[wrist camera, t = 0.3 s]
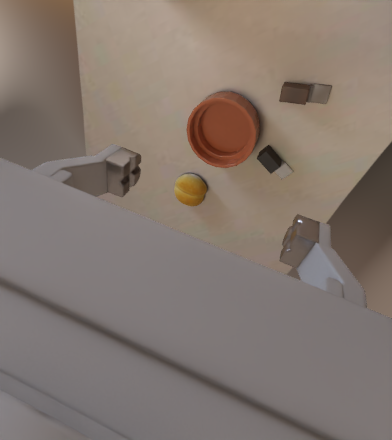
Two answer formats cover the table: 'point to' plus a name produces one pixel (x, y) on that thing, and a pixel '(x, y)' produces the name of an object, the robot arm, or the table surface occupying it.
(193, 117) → the bowl
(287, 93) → the block
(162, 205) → the table surface
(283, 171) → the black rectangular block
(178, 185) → the bread roll
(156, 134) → the table surface
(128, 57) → the table surface
